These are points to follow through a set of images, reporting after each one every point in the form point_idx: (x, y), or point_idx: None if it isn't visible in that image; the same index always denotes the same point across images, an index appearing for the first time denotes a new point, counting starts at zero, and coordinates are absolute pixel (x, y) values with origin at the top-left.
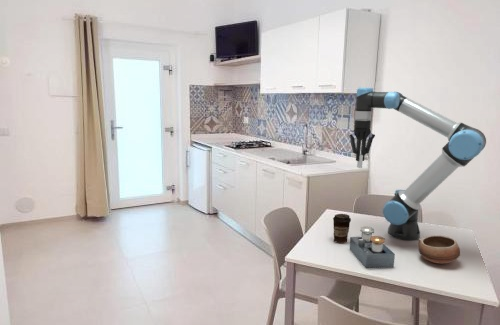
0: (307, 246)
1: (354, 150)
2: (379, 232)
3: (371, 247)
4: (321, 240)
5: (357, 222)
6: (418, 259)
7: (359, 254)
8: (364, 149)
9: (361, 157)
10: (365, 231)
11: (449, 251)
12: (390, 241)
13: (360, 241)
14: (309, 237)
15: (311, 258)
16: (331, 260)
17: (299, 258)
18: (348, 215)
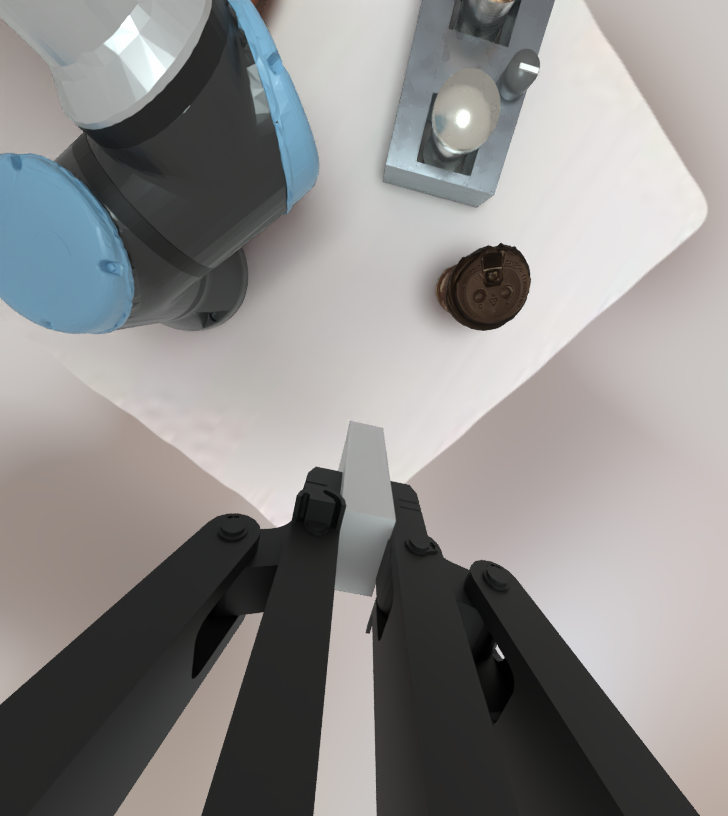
0: (599, 282)
1: (535, 620)
2: (269, 319)
3: (511, 6)
4: (519, 316)
5: (293, 429)
6: (280, 15)
7: None
8: (295, 598)
9: (364, 490)
10: (493, 85)
11: None
12: (280, 225)
13: (537, 59)
14: (541, 353)
15: (655, 176)
16: (603, 133)
17: (693, 191)
18: (462, 283)
